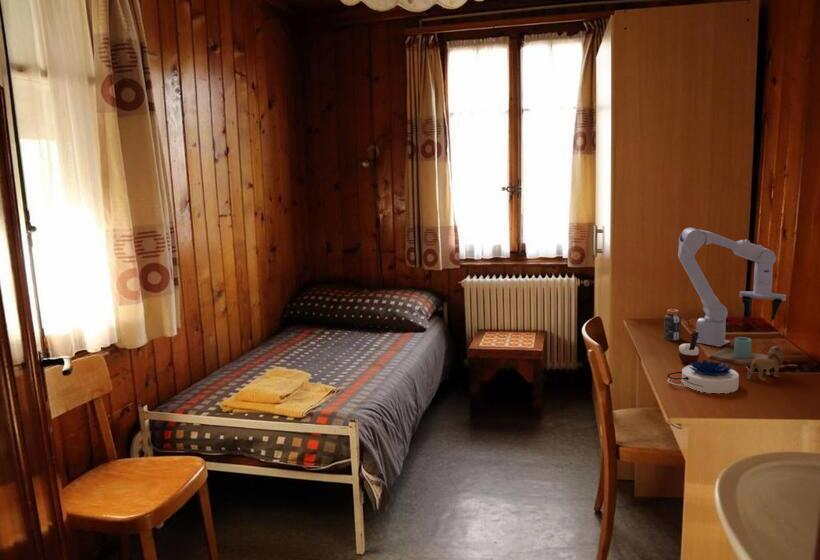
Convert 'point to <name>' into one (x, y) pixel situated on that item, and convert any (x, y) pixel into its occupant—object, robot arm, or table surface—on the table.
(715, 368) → the white round gift box
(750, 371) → the lion figurine
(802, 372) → the table surface
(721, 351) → the roll stand
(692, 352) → the cocoa
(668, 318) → the pill bottle
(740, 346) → the grey-green cylinder
